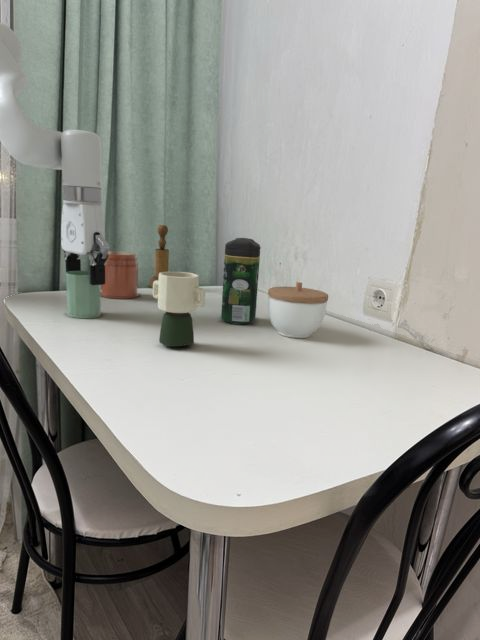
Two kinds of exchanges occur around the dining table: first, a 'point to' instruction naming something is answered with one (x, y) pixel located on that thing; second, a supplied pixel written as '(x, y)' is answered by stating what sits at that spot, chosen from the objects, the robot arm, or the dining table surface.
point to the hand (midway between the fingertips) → (85, 281)
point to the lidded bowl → (296, 310)
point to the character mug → (178, 306)
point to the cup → (82, 295)
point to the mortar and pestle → (161, 255)
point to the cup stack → (120, 276)
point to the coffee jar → (240, 281)
